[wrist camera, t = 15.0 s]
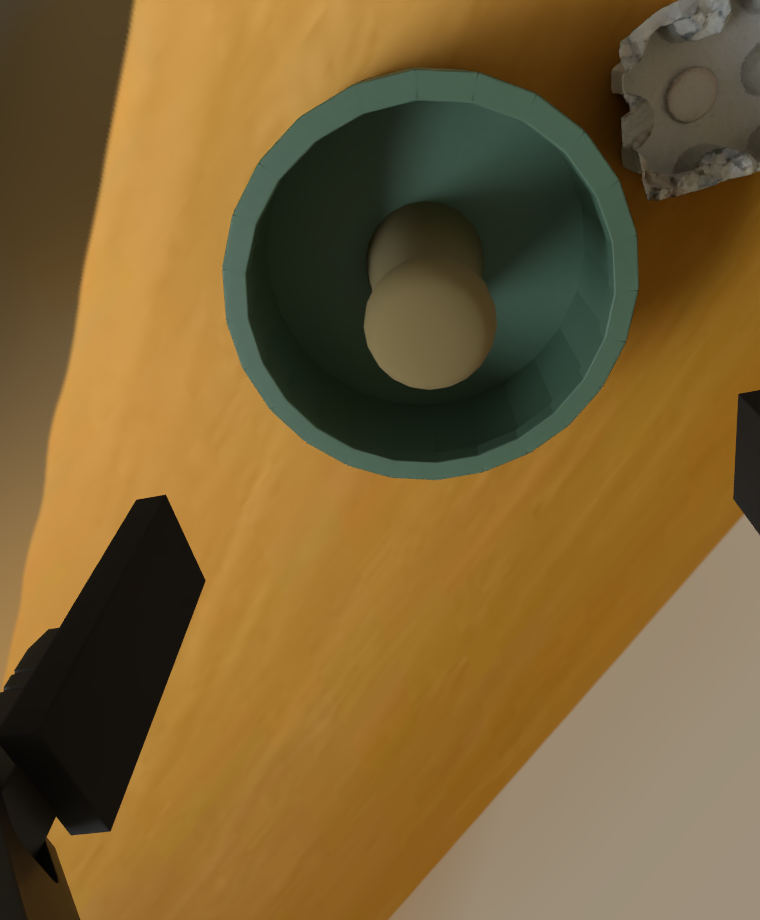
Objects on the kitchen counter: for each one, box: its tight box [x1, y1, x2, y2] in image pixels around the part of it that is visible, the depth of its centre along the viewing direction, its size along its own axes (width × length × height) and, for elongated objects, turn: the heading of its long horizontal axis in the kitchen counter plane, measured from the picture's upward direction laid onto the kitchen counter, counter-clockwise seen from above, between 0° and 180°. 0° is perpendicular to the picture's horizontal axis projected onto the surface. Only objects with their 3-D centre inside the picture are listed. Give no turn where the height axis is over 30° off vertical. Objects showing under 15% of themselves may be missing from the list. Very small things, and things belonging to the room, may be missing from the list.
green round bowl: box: [222, 67, 639, 480], centre depth 32 cm, size 17×17×8 cm
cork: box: [364, 201, 497, 390], centre depth 30 cm, size 6×6×11 cm
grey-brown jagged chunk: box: [611, 0, 760, 201], centre depth 29 cm, size 11×8×4 cm
